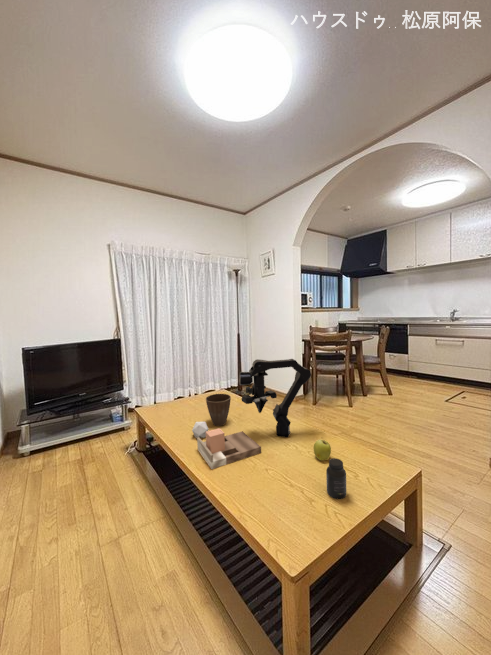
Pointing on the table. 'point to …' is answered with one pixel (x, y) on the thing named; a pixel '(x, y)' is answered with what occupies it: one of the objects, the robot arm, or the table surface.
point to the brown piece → (230, 450)
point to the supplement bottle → (336, 479)
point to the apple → (322, 449)
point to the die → (200, 429)
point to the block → (215, 440)
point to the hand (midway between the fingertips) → (259, 412)
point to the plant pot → (218, 408)
